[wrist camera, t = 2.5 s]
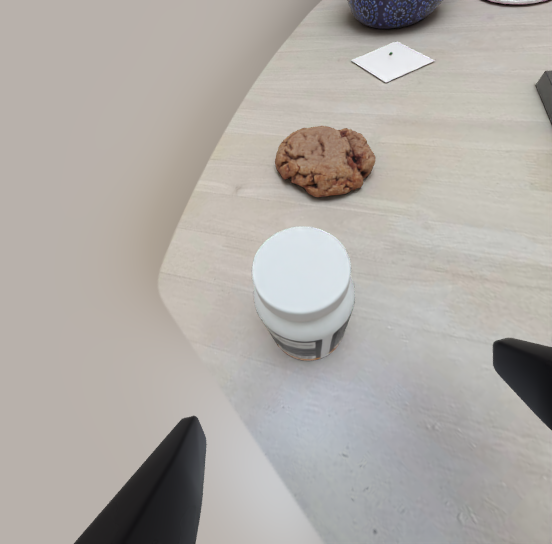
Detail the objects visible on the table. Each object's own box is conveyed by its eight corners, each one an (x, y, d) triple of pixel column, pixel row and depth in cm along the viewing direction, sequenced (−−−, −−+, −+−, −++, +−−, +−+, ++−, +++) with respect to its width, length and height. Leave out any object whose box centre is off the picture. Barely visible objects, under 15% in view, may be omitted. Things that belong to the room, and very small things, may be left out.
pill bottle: (314, 280, 22) (313, 198, 14) (359, 334, 20) (392, 275, 11) (258, 317, 22) (220, 254, 13) (298, 379, 19) (283, 352, 10)
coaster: (385, 82, 35) (387, 76, 34) (350, 60, 38) (351, 54, 38) (435, 60, 35) (437, 53, 35) (396, 41, 39) (397, 34, 38)
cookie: (284, 138, 32) (282, 113, 30) (374, 139, 30) (380, 113, 27) (266, 198, 28) (261, 176, 25) (369, 205, 25) (375, 181, 23)
